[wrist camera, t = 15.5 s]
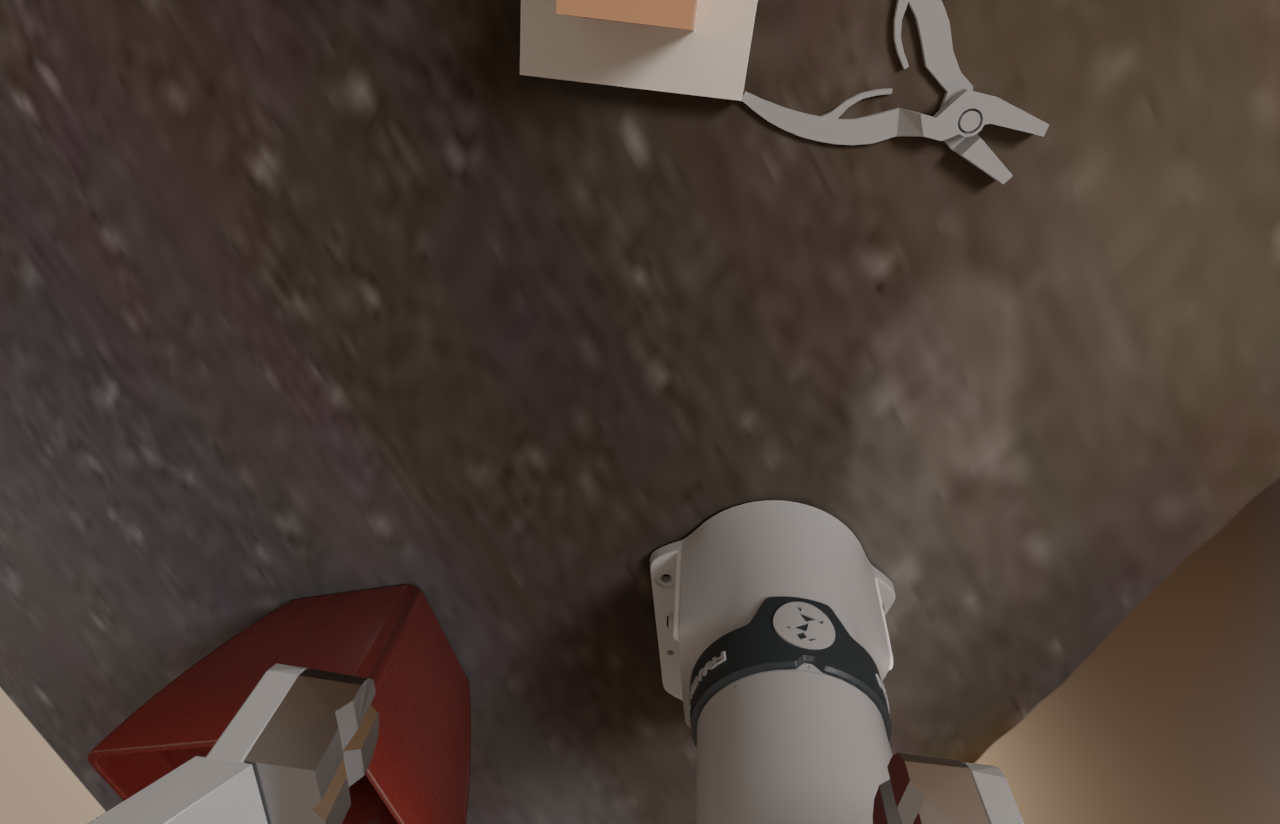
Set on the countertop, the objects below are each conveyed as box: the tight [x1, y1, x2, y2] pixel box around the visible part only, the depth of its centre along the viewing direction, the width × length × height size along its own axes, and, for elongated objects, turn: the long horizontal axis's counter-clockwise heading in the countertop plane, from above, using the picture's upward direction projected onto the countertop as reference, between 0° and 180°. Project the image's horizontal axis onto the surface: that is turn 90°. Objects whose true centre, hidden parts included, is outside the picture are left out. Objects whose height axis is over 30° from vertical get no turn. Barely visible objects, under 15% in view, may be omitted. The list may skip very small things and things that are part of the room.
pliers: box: [742, 0, 1049, 184], centre depth 37 cm, size 10×2×15 cm
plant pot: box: [88, 584, 471, 824], centre depth 54 cm, size 19×19×17 cm
